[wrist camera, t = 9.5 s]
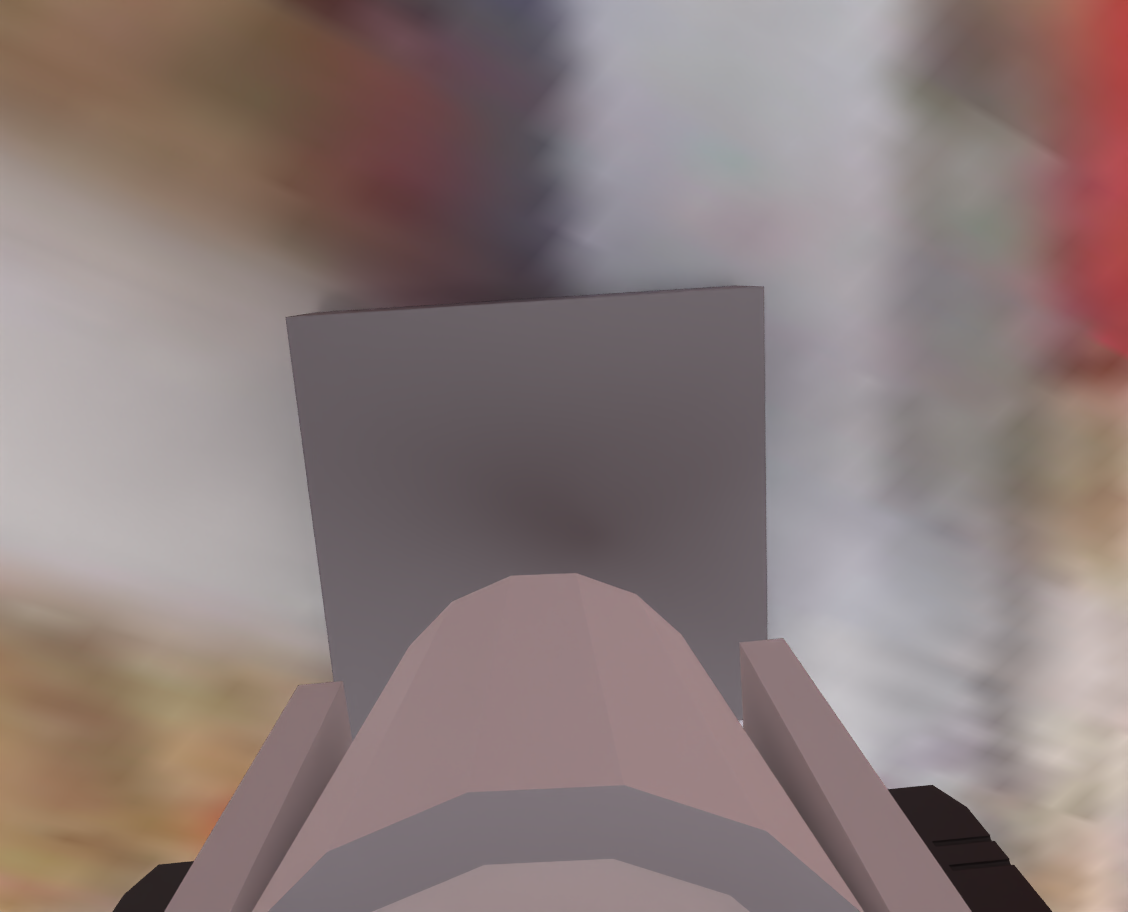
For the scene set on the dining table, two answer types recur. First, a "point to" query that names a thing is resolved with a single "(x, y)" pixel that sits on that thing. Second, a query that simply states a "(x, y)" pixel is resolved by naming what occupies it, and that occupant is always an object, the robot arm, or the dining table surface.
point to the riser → (536, 463)
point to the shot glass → (553, 776)
